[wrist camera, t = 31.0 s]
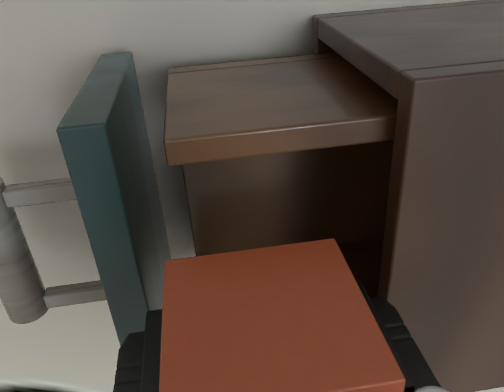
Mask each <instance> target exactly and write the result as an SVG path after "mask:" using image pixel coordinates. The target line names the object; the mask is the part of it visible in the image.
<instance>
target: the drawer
mask: <svg viewBox="0 0 504 392" xmlns="http://www.w3.org/2000/svg"><path fill="white" fill-rule="evenodd" d="M397 107H398V99H396V98H394V97H393V96H392V95H391V94H389V93H388V92H387V91H385V90H384V89H383V88H382V87H380V86H379V85H378V84H376V83H375V82H374V81H373V80H371V79H370V78H369V77H367V76H366V75H365V74H364V73H362V72H361V71H360V70H358V69H357V68H356V67H355V66H353V65H352V64H351V63H349V62H348V61H347V60H346V59H344V58H343V57H342V56H340V55H339V54H338V53H337V52H333V53H323V54H312V55H302V56H292V57H281V58H271V59H261V60H250V61H240V62H229V63H219V64H209V65H198V66H188V67H178V68H169V69H168V83H167V96H166V110H165V124H164V138H163V144H164V150H165V156H166V162H167V164H168V165H169V166H174V165H182V169H183V176H184V182H185V189H186V195H187V202H188V208H189V214H190V221H191V227H192V234H193V240H194V247H195V253H196V256H203V255H211V254H218V253H226V252H233V251H241V250H248V249H256V248H264V247H271V246H279V245H286V244H294V243H301V242H309V241H316V240H324V239H331V238H334V239H335V241H336V243H337V245H338V247H339V249H340V251H341V253H342V255H343V257H344V259H345V261H346V263H347V265H348V266H349V268H350V270H351V272H352V274H353V276H354V278H355V280H356V281H361V282H362V284H363V285H364V287H365V289H366V291H367V293H368V295H369V297H370V298H371V297H378V287H379V278H380V268H381V259H382V249H383V240H384V230H385V221H386V211H387V202H388V193H389V183H390V174H391V164H392V155H393V145H394V136H395V126H396V117H397ZM56 131H57V134H58V137H59V141H60V144H61V147H62V151H63V154H64V157H65V161H66V164H67V168H68V171H69V174H70V178H64V179H55V180H47V181H38V182H29V183H21V184H12V185H7V186H5V184H4V181H3V179H2V178H0V298H1V300H2V303H3V305H4V307H5V309H6V311H7V314H8V316H9V318H10V320H11V321H12V322H14V323H17V324H25V323H30V322H33V321H35V320H37V319H39V318H40V317H42V316H43V315H44V314H45V313H46V312H47V311H48V309H49V308H52V307H59V306H66V305H73V304H80V303H88V302H95V301H102V300H107V302H108V305H109V309H110V312H111V315H112V319H113V322H114V325H115V329H116V332H117V336H118V339H119V342H120V346H122V344H123V342H124V341H125V339H126V337H127V336H128V334H129V333H135V332H141V331H145V321H146V313H147V311H152V310H159V309H162V306H163V283H164V262H165V261H166V260H171V255H170V250H169V244H168V239H167V234H166V229H165V223H164V218H163V213H162V207H161V202H160V197H159V192H158V186H157V181H156V176H155V171H154V165H153V160H152V155H151V150H150V144H149V139H148V134H147V129H146V123H145V118H144V113H143V107H142V102H141V97H140V92H139V86H138V81H137V76H136V71H135V65H134V60H133V55H132V53H131V52H125V53H115V54H104V55H101V57H100V59H99V60H98V62H97V63H96V65H95V67H94V68H93V70H92V72H91V73H90V75H89V77H88V78H87V80H86V81H85V83H84V85H83V86H82V88H81V90H80V91H79V93H78V94H77V96H76V98H75V99H74V101H73V103H72V104H71V106H70V107H69V109H68V111H67V112H66V114H65V116H64V117H63V119H62V121H61V122H60V124H59V125H58V127H57V130H56ZM69 200H77V201H78V205H79V208H80V211H81V215H82V218H83V221H84V225H85V228H86V231H87V235H88V238H89V241H90V245H91V248H92V252H93V255H94V258H95V262H96V265H97V268H98V272H99V275H100V278H101V280H99V281H92V282H85V283H77V284H70V285H62V286H55V287H48V288H46V290H45V288H44V285H43V283H42V280H41V278H40V275H39V272H38V270H37V267H36V264H35V262H34V259H33V257H32V254H31V251H30V249H29V246H28V244H27V241H26V238H25V236H24V233H23V231H22V228H21V225H20V223H19V220H18V218H17V215H16V212H15V210H14V207H19V206H27V205H35V204H44V203H52V202H60V201H69Z"/></svg>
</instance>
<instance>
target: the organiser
mask: <svg viewBox="0 0 504 392" xmlns="http://www.w3.org/2000/svg"><path fill="white" fill-rule="evenodd" d="M333 52H337V53H338V54H339V55H340V56H342V57H343V58H344V59H346V60H347V61H348V62H349V63H351V64H352V65H353V66H355V67H356V68H357V69H358V70H360V71H361V72H362V73H364V74H365V75H366V76H367V77H369V78H370V79H371V80H373V81H374V82H375V83H376V84H378V85H379V86H380V87H382V88H383V89H384V90H385V91H387V92H388V93H389V94H391V95H392V96H393V97H394V98H396V99H398V107H397V117H396V126H395V136H394V145H393V155H392V164H391V174H390V183H389V193H388V202H387V211H386V221H385V230H384V240H383V249H382V259H381V268H380V278H379V287H378V296H382V297H383V298H384V299H385V300H387V301H388V302H389V303H390V304H392V305H393V306H394V307H395V308H396V309H397V311H398V313H399V315H400V316H401V318H402V320H403V322H404V325H405V326H406V327H407V329H408V330H409V332H410V334H411V337H412V338H413V339H414V341H415V343H416V344H417V346H418V348H419V350H420V351H421V353H422V355H423V357H424V358H425V360H426V362H427V364H428V365H429V367H430V369H431V371H432V372H433V374H434V376H435V378H436V379H437V381H438V383H439V384H440V386H441V387H442V388H445V389H447V390H450V391H452V392H475V391H481V390H487V389H493V388H499V387H504V0H480V1H469V2H457V3H446V4H435V5H424V6H413V7H401V8H390V9H379V10H368V11H356V12H345V13H334V14H323V15H315V16H314V17H313V54H323V53H333Z"/></svg>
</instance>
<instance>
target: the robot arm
mask: <svg viewBox="0 0 504 392" xmlns="http://www.w3.org/2000/svg"><path fill="white" fill-rule="evenodd" d="M356 282H357V284H358V286H359V288H360V290H361V292H362V294H363V296H364V298H365V300H366V302H367V304H368V306H369V308H370V310H371V312H372V314H373V316H374V318H375V320H376V322H377V324H378V326H379V328H380V330H381V332H382V334H383V336H384V338H385V340H386V342H387V344H388V346H389V348H390V350H391V352H392V354H393V356H394V358H395V360H396V362H397V364H398V366H399V368H400V369H401V371H402V373H403V375H404V377H405V387H404V392H452V391H450V390H447V389H445V388H442V387H441V386H440V384H439V383H438V381H437V379H436V378H435V376H434V374H433V372H432V371H431V369H430V367H429V365H428V364H427V362H426V360H425V358H424V357H423V355H422V353H421V351H420V350H419V348H418V346H417V344H416V343H415V341H414V339H413V338H412V337H411V334H410V332H409V330H408V329H407V327H406V326H405V325H404V322H403V320H402V318H401V316H400V315H399V313H398V311H397V309H396V308H395V307H394V306H393V305H392V304H390V303H389V302H388V301H387V300H385V299H384V298H383V297H382V296H378V297H371V298H370V297H369V295H368V293H367V291H366V289H365V287H364V285H363V284H362V282H361V281H356ZM161 330H162V309H159V310H152V311H147V313H146V321H145V331H141V332H135V333H129V334H128V336H127V337H126V339H125V341H124V342H123V344H122V346H121V347H120V349H119V354H118V361H117V370H116V375H115V385H114V390H113V392H159V378H160V354H161Z"/></svg>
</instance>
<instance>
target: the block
mask: <svg viewBox="0 0 504 392" xmlns="http://www.w3.org/2000/svg"><path fill="white" fill-rule="evenodd" d="M404 387H405V377H404V375H403V373H402V371H401V369H400V368H399V366H398V364H397V362H396V360H395V358H394V356H393V354H392V352H391V350H390V348H389V346H388V344H387V342H386V340H385V338H384V336H383V334H382V332H381V330H380V328H379V326H378V324H377V322H376V320H375V318H374V316H373V314H372V312H371V310H370V308H369V306H368V304H367V302H366V300H365V298H364V296H363V294H362V292H361V290H360V288H359V286H358V284H357V282H356V280H355V278H354V276H353V274H352V272H351V270H350V268H349V266H348V265H347V263H346V261H345V259H344V257H343V255H342V253H341V251H340V249H339V247H338V245H337V243H336V241H335V239H334V238H331V239H324V240H316V241H309V242H301V243H294V244H286V245H279V246H271V247H264V248H256V249H248V250H241V251H233V252H226V253H218V254H211V255H203V256H196V257H188V258H181V259H173V260H166V261H165V262H164V283H163V306H162V330H161V354H160V378H159V392H404Z"/></svg>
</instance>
